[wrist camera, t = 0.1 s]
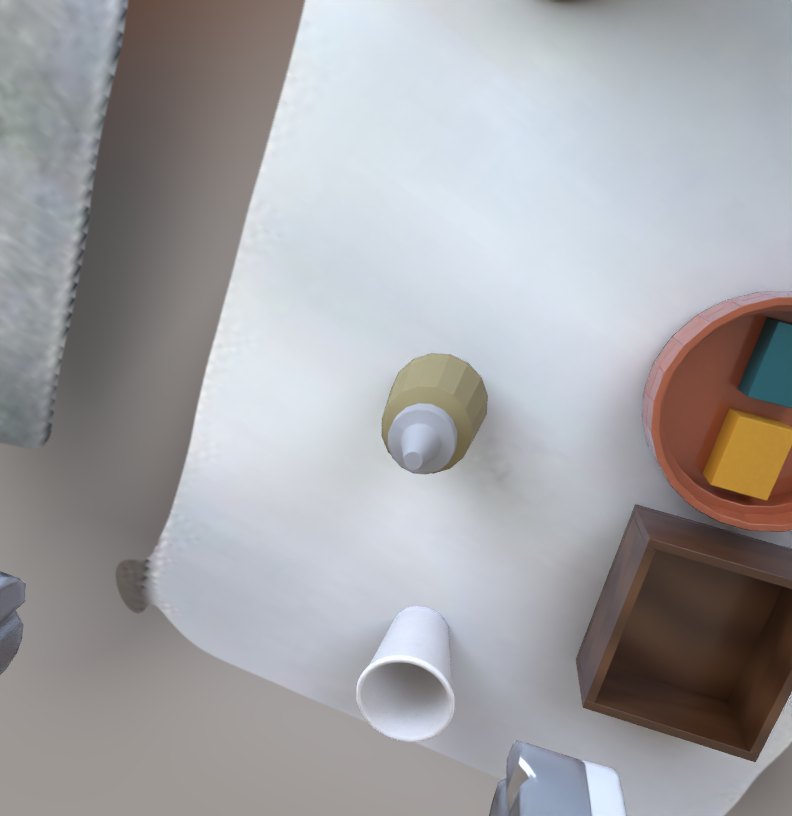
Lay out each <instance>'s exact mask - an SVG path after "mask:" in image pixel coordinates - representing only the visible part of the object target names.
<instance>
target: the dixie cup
mask: <svg viewBox="0 0 792 816" xmlns="http://www.w3.org/2000/svg"><path fill="white" fill-rule="evenodd" d="M356 699H357V704H358V707H359V710H360V712H361V714H362V715H363V717H364V718H365V720H366V721H367V722H368V723H369V724H370V725H371V726H372V727H373V728H374V729H375V730H377V731H378V732H380V733H381V734H383V735H385V736H388V737H389V738H392V739H395V740H399V741H405V742H419V741H424V740H428V739H430V738H433V737H435V736H437V735H438V734H440V733H441V732H442V731H443V730H444V729H445V728H446V727H447V726H448V725H449V723H450V721H451V719H452V717H453V714H454V709H455V699H454V694H453V691H452V684H451V663H450V641H449V629H448V625H447V623H446V621H445V620H444V618H443V617H442V616H441V615H440V614H439V613H437V612H436V611H434V610H432V609H430V608H427V607H423V606H412V607H408V608H406V609H404V610H402V611H401V612H399V613H398V614H397V616H396V617H395V619H394V620H393V622H392V624H391V626H390V628H389V630H388V631H387V633H386V635H385V637H384V639H383V641H382V643H381V644H380V646H379V648H378V650H377V652H376V654H375V655H374V657H373V659H372V661H371V663H370V665H369V666H368V667H367V668H366V669H365V670H364V671H363V673H362V674H361V676H360V678H359V680H358V683H357V688H356Z"/></svg>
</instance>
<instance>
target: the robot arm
mask: <svg viewBox="0 0 792 816" xmlns="http://www.w3.org/2000/svg"><path fill="white" fill-rule="evenodd" d="M25 587H26V585H25V583H24V582H23V581H22V580H21V579H20V578H17V577H14V576H12V575H9V574H6V573H3V572H0V674H2V673H3V672H4V671H5V670H6V669H7V667H8V666H9V664H10V663H11V661H12V660H13V658H14V657H15V655H16V654H17V651H18V648H19V646H20V642H21V639H22V632H23V623H22V622H21V620H20V618H19V616H18V614H17V612H16V609H17V608H19V607H20V606H21V605H22V604H23V603H24V602H25ZM489 816H627V813H626V808H625V803H624V798H623V793H622V788H621V783H620V778H619V775H618V773H617V772H616V770H615V769H612V768H608V767H605V766H602V765H598V764H595V763H592V762H588V761H585V760H581V761H580V760H579V759H576V758H573V757H570V756H566V755H563V754H560V753H557V752H554V751H551V750H547V749H544V748H541V747H538V746H535V745H532V744H529V743H525V742H522V741H519V740H516V741H515V742H514V744H513V746H512V748H511V750H510V753H509V755H508V758H507V778H505V779H504V780H502V781H500V782H499V783H498V786H497V789H496V792H495V795H494V798H493V801H492V805H491V810H490V814H489Z"/></svg>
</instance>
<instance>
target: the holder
mask: <svg viewBox="0 0 792 816" xmlns="http://www.w3.org/2000/svg"><path fill="white" fill-rule="evenodd" d="M576 664H577V671H578V678H579V685H580V692H581V699H582V706H583V708H586V709H589V710H592V711H596V712H599V713H602V714H605V715H608V716H611V717H615V718H618V719H621V720H624V721H627V722H630V723H633V724H637V725H640V726H643V727H646V728H649V729H652V730H656V731H659V732H662V733H665V734H668V735H671V736H674V737H678V738H681V739H684V740H687V741H690V742H693V743H696V744H700V745H703V746H706V747H709V748H712V749H715V750H719V751H722V752H725V753H728V754H731V755H734V756H737V757H741V758H744V759H747V760H750V761H753V762H756V760H757V759H758V757H759V754H760V752H761V751H762V749H763V747H764V745H765V743H766V741H767V739H768V737H769V735H770V733H771V731H772V729H773V727H774V725H775V723H776V721H777V719H778V717H779V715H780V713H781V711H782V710H783V708H784V706H785V704H786V702H787V700H788V698H789V696H790V694H791V692H792V549H789V548H786V547H782V546H779V545H775V544H772V543H768V542H765V541H761V540H758V539H754V538H751V537H747V536H744V535H740V534H737V533H733V532H730V531H726V530H723V529H719V528H716V527H712V526H709V525H705V524H702V523H698V522H695V521H691V520H688V519H684V518H681V517H677V516H674V515H670V514H667V513H663V512H660V511H656V510H653V509H649V508H646V507H642V506H639V505H635V507H634V509H633V512H632V515H631V517H630V520H629V522H628V525H627V528H626V530H625V533H624V536H623V538H622V541H621V543H620V546H619V549H618V551H617V554H616V556H615V559H614V562H613V564H612V567H611V569H610V572H609V575H608V577H607V580H606V582H605V585H604V588H603V590H602V593H601V595H600V598H599V601H598V603H597V606H596V608H595V611H594V614H593V616H592V619H591V621H590V624H589V627H588V629H587V632H586V634H585V637H584V640H583V642H582V645H581V647H580V650H579V653H578V655H577V658H576Z"/></svg>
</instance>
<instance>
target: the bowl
mask: <svg viewBox="0 0 792 816" xmlns="http://www.w3.org/2000/svg"><path fill="white" fill-rule="evenodd" d="M767 317H769V318H773V319H777V320H781V321H785V322H788V323H792V291H787V292H756V293H752V294H748V295H744V296H740V297H736V298H732V299H728V300H727V301H723V302H721V303H720V304H718V305H716V306H714V307H712V308H710V309H708V310H706V311H704V312H702V313H700V314H698V315H697V316H695V317H694V318H693V319H692V320H691V321H690V322H688V323H687V324H686V325H685V326H684V327H683V328H681V329H680V330H679V331H678V332H677V333H676V334H675V335H673V337H671V339H670V340H669V341H668V343H667V344H666V346H665V347H664V349H663V350H662V351H661V353H660V354H659V356H658V357H657V359H656V360H655V361H654V364H653V366H652V369H651V372H650V375H649V377H648V380H647V383H646V385H645V388H644V395H643V409H642V421H643V426H644V430H645V435H646V440H647V444H648V446H649V448H650V450H651V452H652V454H653V455H654V457H655V459H656V461H657V463H658V464H659V466H660V468H661V470H662V471H663V473H664V475H665V476H666V478H667V480H668V481H669V483H670V485H671V486H672V487H673V488H674V489H675V490H676V491H677V492H678V493H679V494H680V495H681V496H682V497H683V498H684V499H685V500H686V501H687V502H688V503H689V504H690V505H691V506H692V507H694V508H695V509H697V510H699V511H701V512H702V513H704V514H706V515H708V516H709V517H711V518H713V519H715V520H716V521H719V522H722V523H725V524H729V525H732V526H736V527H739V528H743V529H746V530H754V531H775V532H781V531H782V532H784V531H790V530H792V446H791V448H790V451H789V453H788V455H787V457H786V460H785V462H784V464H783V466H782V468H781V471H780V473H779V475H778V477H777V479H776V482H775V484H774V486H773V488H772V491H771V493H770V495H769V497H768V499H767V501H766V500H763V499H759V498H756V497H752V496H748V495H745V494H741V493H738V492H734V491H731V490H727V489H723V488H720V487H716V486H713V485H710V483H709V482H708V481H707V479H706V478H705V477H704V475H703V471H704V469H705V466H706V464H707V461H708V459H709V457H710V454H711V452H712V449H713V447H714V444H715V442H716V440H717V437H718V435H719V432H720V430H721V427H722V425H723V423H724V420H725V418H726V415H727V413H728V410H729V408H733V409H736V410H740V411H744V412H747V413H751V414H755V415H759V416H762V417H766V418H770V419H773V420H777V421H781V422H785V423H786V424H788V425H789V426H790V427H792V408H788V407H784V406H780V405H777V404H773V403H769V402H765V401H762V400H758V399H754V398H750V397H748V396H746V395H745V394H743V393H742V392H741V391H739V390H738V386H739V384H740V382H741V379H742V377H743V374H744V372H745V369H746V367H747V365H748V362H749V360H750V357H751V355H752V352H753V350H754V348H755V345H756V343H757V340H758V338H759V335H760V333H761V331H762V328H763V326H764V323H765V321H766V318H767Z"/></svg>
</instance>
